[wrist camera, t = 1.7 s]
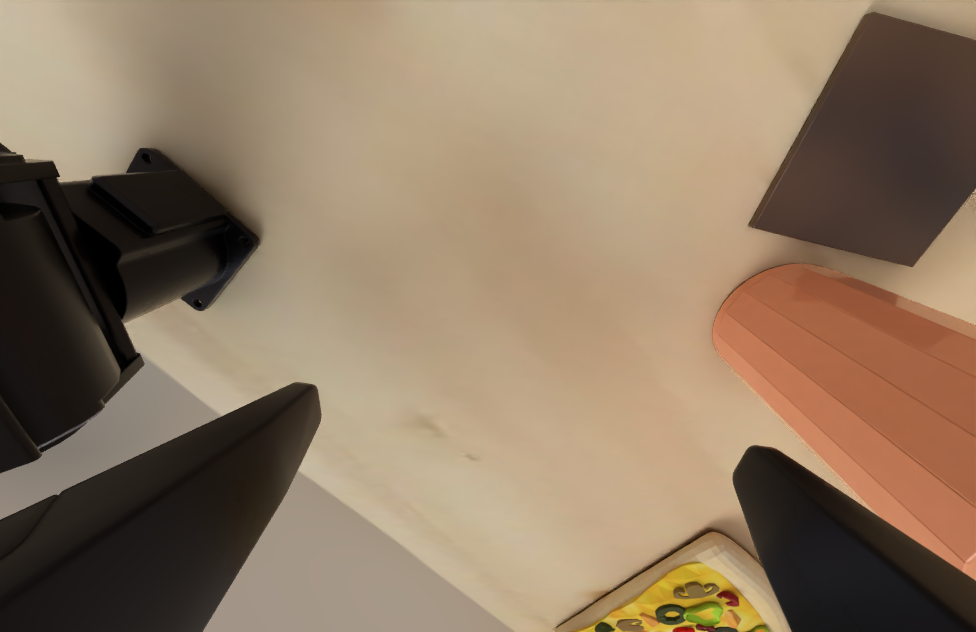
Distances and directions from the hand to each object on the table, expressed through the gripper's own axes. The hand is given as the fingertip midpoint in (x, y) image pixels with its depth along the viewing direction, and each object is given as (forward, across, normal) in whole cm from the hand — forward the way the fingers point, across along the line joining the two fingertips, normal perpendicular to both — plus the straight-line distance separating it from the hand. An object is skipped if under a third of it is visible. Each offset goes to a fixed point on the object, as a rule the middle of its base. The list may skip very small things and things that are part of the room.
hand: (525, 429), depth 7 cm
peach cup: (+13, -14, +2) cm, 20 cm away
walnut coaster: (+13, -15, -6) cm, 21 cm away
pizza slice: (+13, -16, +31) cm, 37 cm away
